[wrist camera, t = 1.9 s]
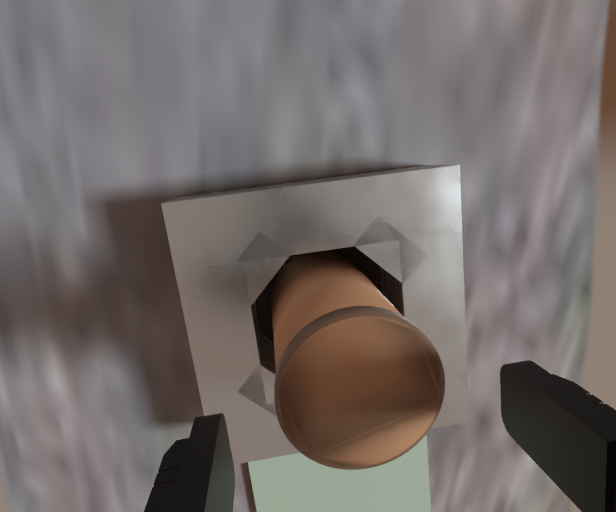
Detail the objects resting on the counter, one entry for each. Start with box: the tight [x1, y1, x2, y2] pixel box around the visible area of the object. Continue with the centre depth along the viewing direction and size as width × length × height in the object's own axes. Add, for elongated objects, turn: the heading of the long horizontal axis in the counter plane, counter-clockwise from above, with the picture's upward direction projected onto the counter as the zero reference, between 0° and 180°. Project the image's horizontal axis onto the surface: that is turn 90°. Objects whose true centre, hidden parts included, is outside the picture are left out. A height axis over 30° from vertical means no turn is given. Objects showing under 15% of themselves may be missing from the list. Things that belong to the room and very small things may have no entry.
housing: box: [161, 165, 469, 465], centre depth 19 cm, size 12×12×4 cm
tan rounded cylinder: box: [271, 251, 445, 470], centre depth 17 cm, size 5×5×9 cm
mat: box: [248, 435, 431, 512], centre depth 23 cm, size 10×10×1 cm
